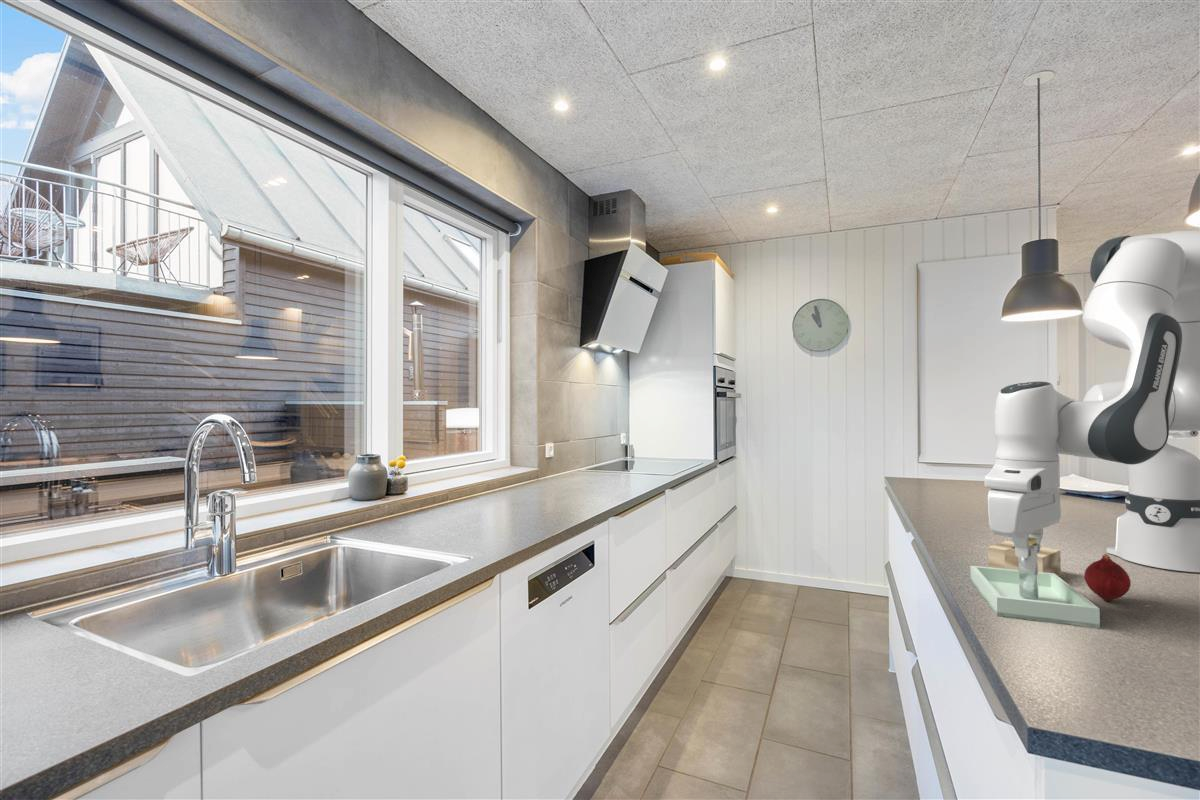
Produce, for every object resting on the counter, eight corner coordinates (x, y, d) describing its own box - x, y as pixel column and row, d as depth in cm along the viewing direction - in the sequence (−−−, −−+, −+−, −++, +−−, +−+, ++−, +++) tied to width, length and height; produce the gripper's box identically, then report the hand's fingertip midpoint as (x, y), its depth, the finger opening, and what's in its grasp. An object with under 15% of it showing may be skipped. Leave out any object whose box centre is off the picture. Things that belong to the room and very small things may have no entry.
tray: (970, 581, 104) (970, 565, 104) (1054, 589, 99) (1054, 573, 99) (997, 615, 87) (996, 597, 87) (1099, 628, 82) (1099, 608, 82)
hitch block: (1007, 563, 114) (1007, 540, 114) (1060, 575, 107) (1060, 550, 107) (988, 571, 109) (988, 547, 109) (1042, 584, 102) (1042, 557, 102)
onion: (1140, 608, 90) (1139, 560, 90) (1100, 606, 91) (1099, 559, 91) (1114, 595, 95) (1113, 551, 95) (1076, 593, 96) (1076, 549, 96)
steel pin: (1022, 592, 95) (1021, 535, 95) (1041, 596, 92) (1039, 538, 93) (1016, 595, 93) (1015, 537, 93) (1035, 599, 91) (1033, 540, 91)
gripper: (1028, 468, 101) (1029, 541, 101) (979, 478, 90) (980, 560, 90) (1071, 472, 96) (1072, 549, 96) (1024, 483, 85) (1026, 570, 85)
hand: (1027, 555), depth 93 cm, fingers closed on steel pin, 2 cm apart
